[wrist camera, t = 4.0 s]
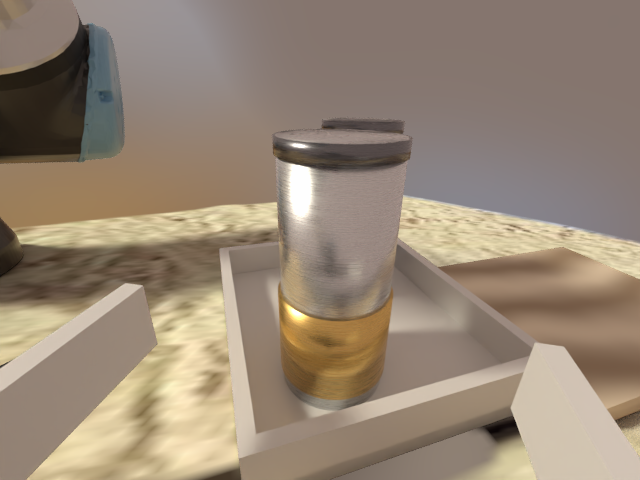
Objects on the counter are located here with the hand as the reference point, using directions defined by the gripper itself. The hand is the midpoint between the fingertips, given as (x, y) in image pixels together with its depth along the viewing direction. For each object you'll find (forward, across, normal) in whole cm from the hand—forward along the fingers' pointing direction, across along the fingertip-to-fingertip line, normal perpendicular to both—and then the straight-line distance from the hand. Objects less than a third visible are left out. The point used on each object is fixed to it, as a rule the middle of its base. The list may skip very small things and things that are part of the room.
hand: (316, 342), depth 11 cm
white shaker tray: (+12, 0, -9) cm, 15 cm away
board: (+18, +18, -9) cm, 27 cm away
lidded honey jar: (+7, 0, -8) cm, 10 cm away
